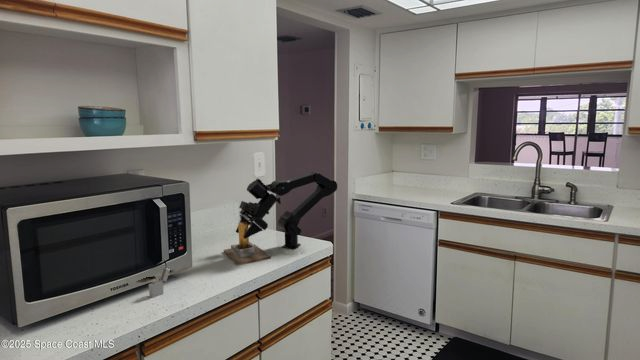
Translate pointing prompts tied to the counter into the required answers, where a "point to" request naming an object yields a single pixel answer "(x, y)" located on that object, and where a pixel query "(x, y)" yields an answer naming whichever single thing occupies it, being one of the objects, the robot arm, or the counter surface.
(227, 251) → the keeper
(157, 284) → the lighter
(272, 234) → the counter surface
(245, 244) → the post
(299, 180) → the robot arm
